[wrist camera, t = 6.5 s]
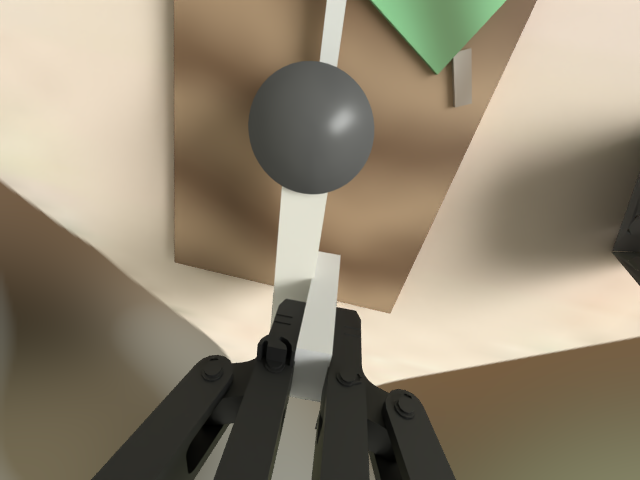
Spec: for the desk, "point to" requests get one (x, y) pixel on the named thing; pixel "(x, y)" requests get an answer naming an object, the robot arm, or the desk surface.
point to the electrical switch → (630, 236)
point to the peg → (309, 149)
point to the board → (389, 127)
